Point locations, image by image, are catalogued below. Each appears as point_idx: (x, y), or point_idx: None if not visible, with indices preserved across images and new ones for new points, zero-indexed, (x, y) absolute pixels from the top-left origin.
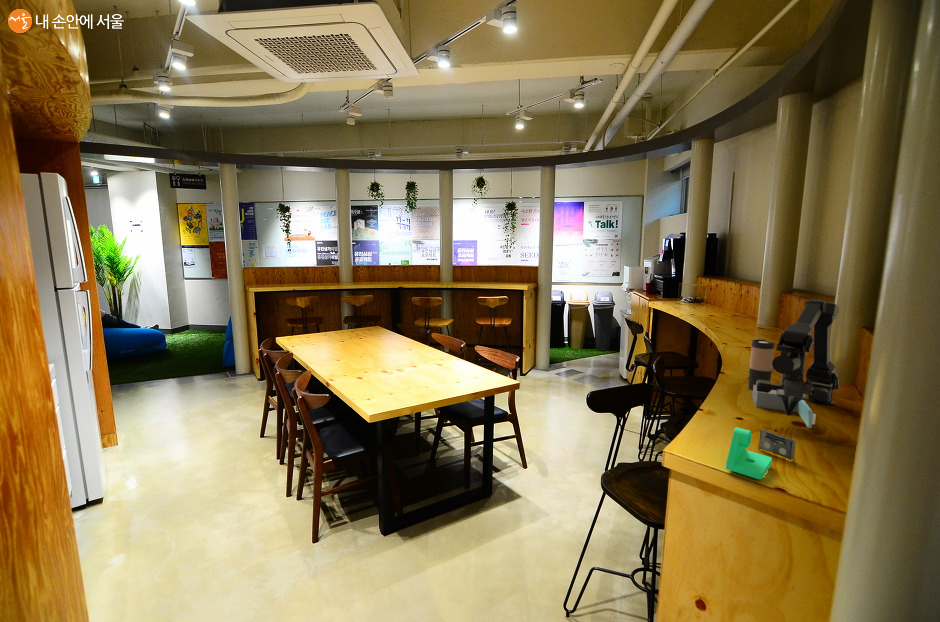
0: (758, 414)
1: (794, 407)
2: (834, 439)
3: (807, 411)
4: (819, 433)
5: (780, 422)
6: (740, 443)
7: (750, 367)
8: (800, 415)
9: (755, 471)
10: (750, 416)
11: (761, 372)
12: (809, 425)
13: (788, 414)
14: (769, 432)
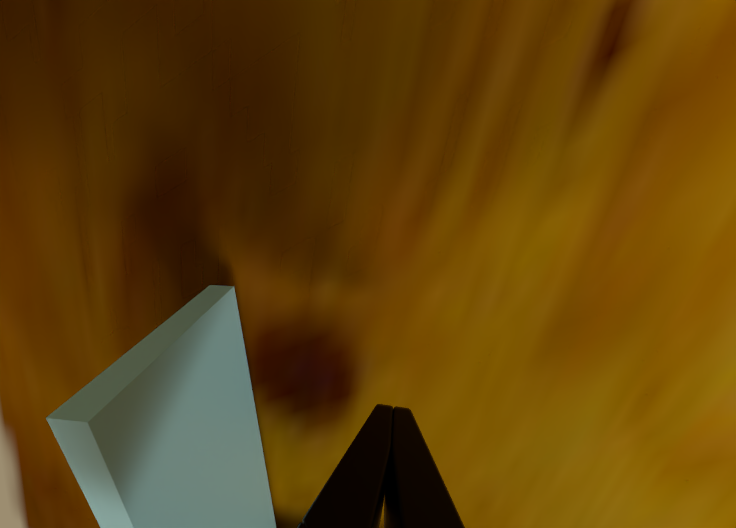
0: (589, 482)
1: (305, 517)
2: (23, 65)
3: (162, 487)
4: (153, 194)
5: (451, 357)
6: None
7: None
8: (271, 516)
9: None
10: (707, 419)
11: None
12: (213, 296)
13: (392, 415)
14: None
